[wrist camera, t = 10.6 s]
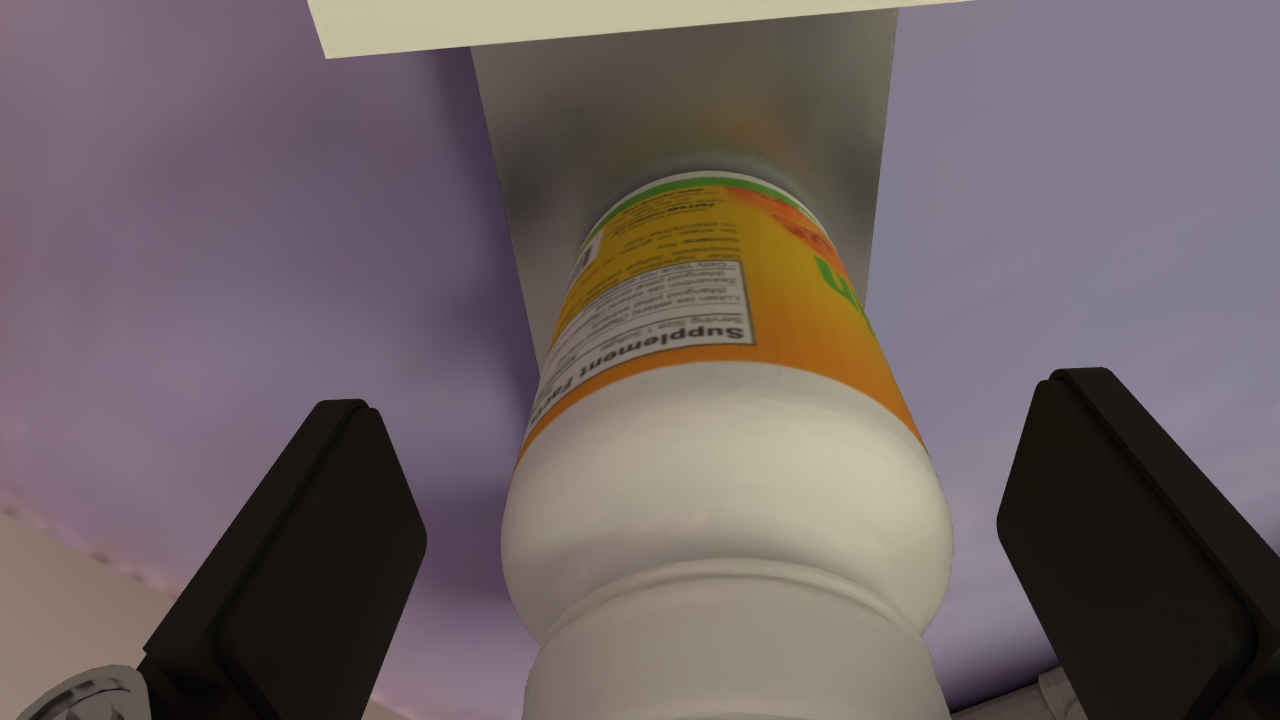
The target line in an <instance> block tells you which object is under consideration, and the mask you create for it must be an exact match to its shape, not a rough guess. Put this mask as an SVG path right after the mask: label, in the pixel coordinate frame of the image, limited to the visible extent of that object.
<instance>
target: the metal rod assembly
mask: <svg viewBox="0 0 1280 720" xmlns="http://www.w3.org/2000/svg"><path fill="white" fill-rule="evenodd" d="M1038 678H1039V683H1036V684H1033V685H1030V686H1028V687H1025V688H1022V689H1019V690H1017V691H1014V692H1011V693H1009V694H1006V695H1003V696H1000V697H998V698H995V699H992V700H989V701H987V702H984V703H981V704H979V705H976V706H973V707H970V708H968V709H965V710H962V711H959V712H957V713H954V714H951V715H950V716H951V719H952V720H1088V718H1087V716H1086V714H1085V712H1084V710H1083V708H1082V706H1081V704H1080V702H1079V700H1078V698H1077V696H1076V694H1075V692H1074V690H1073V688H1072V686H1071V684H1070V682H1069V680H1068V678H1067V676H1066V674H1065V672H1064V670H1063V668H1062V666H1061V665H1060V666H1058V667H1055V668H1053V669H1051V670H1049V671H1047V672H1044V673H1039V676H1038Z"/></svg>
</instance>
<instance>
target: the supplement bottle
mask: <svg viewBox="0 0 1280 720" xmlns="http://www.w3.org/2000/svg"><path fill="white" fill-rule="evenodd" d="M500 548H501V561H502V569H503V574H504V578H505V582H506V586H507V590H508V592H509V595H510V598H511V601H512V603H513V605H514V607H515V609H516V611H517V613H518V615H519V617H520V619H521V621H522V622H523V624H524V625H525V627H526V628H527V629H528V631H529V632H530V634H531V635H532V637H533V638H534V639H535V640H536V642H537V643H538V644H539V645H540V649H539V652H538V656H537V658H536V661H535V663H534V665H533V666H532V668H531V670H530V673H529V676H528V680H527V683H526V687H525V693H524V706H523V716H522V720H952V719H951V716H950V713H949V710H948V707H947V704H946V701H945V699H944V696H943V693H942V690H941V687H940V684H939V681H938V679H937V677H936V674H935V672H934V670H933V667H932V663H931V657H930V653H929V650H928V647H927V645H926V643H925V641H924V639H923V637H922V635H923V634H924V632H925V631H926V629H927V628H928V626H929V625H930V624H931V622H932V621H933V619H934V617H935V615H936V613H937V611H938V610H939V607H940V605H941V603H942V600H943V598H944V595H945V593H946V590H947V587H948V583H949V579H950V574H951V568H952V561H953V529H952V524H951V519H950V513H949V508H948V505H947V502H946V499H945V496H944V493H943V490H942V487H941V485H940V483H939V480H938V476H937V474H936V472H935V470H934V467H933V465H932V462H931V460H930V457H929V455H928V453H927V450H926V448H925V446H924V444H923V441H922V439H921V437H920V435H919V433H918V430H917V428H916V426H915V424H914V422H913V419H912V417H911V415H910V413H909V410H908V408H907V406H906V404H905V402H904V399H903V397H902V395H901V393H900V391H899V388H898V386H897V384H896V382H895V380H894V377H893V375H892V373H891V371H890V369H889V366H888V364H887V361H886V359H885V357H884V354H883V352H882V350H881V347H880V345H879V343H878V341H877V338H876V336H875V334H874V332H873V329H872V327H871V325H870V323H869V321H868V319H867V316H866V314H865V312H864V310H863V308H862V305H861V303H860V301H859V299H858V297H857V295H856V293H855V291H854V289H853V286H852V284H851V282H850V280H849V278H848V276H847V273H846V271H845V269H844V267H843V265H842V262H841V260H840V258H839V256H838V253H837V251H836V249H835V247H834V245H833V243H832V242H831V240H830V238H829V237H828V235H827V233H826V231H825V230H824V228H823V227H822V225H821V224H820V223H819V221H818V220H817V219H816V218H815V216H814V215H813V214H812V213H811V212H810V211H809V210H808V209H807V208H806V207H805V206H804V205H803V204H802V203H801V202H799V201H798V200H796V199H795V198H794V197H792V196H791V195H790V194H788V193H787V192H785V191H784V190H782V189H780V188H778V187H776V186H774V185H772V184H770V183H768V182H766V181H763V180H760V179H758V178H755V177H752V176H748V175H744V174H739V173H732V172H725V171H697V172H688V173H682V174H677V175H672V176H669V177H665V178H662V179H659V180H656V181H654V182H651V183H649V184H646V185H644V186H642V187H640V188H638V189H637V190H635V191H633V192H632V193H630V194H628V195H627V196H625V197H624V198H623V199H621V200H620V201H619V202H618V203H616V204H615V205H614V206H613V207H612V208H611V209H610V210H609V211H608V212H606V213H605V214H604V216H603V217H602V218H601V219H600V220H599V221H598V222H597V223H596V225H595V226H594V227H593V229H592V230H591V232H590V233H589V235H588V236H587V238H586V240H585V241H584V243H583V245H582V247H581V249H580V251H579V253H578V256H577V259H576V261H575V263H574V265H573V269H572V272H571V275H570V278H569V281H568V284H567V288H566V291H565V295H564V299H563V302H562V305H561V309H560V312H559V316H558V319H557V323H556V327H555V330H554V333H553V337H552V340H551V344H550V347H549V351H548V354H547V358H546V361H545V364H544V367H543V370H542V374H541V378H540V382H539V386H538V389H537V393H536V396H535V400H534V403H533V407H532V410H531V413H530V417H529V420H528V424H527V427H526V431H525V434H524V438H523V441H522V445H521V448H520V452H519V455H518V459H517V462H516V465H515V468H514V471H513V475H512V479H511V483H510V487H509V491H508V495H507V501H506V506H505V511H504V515H503V520H502V529H501V547H500Z"/></svg>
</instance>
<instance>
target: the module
mask: <svg viewBox="0 0 1280 720" xmlns="http://www.w3.org/2000/svg"><path fill="white" fill-rule="evenodd" d="M962 1H973V0H307V2H308V5H309V8H310V11H311V14H312V17H313V20H314V23H315V26H316V30H317V33H318V36H319V39H320V42H321V45H322V48H323V51H324V54H325V57H326V59H331V58H342V57H354V56H365V55H376V54H387V53H398V52H409V51H420V50H431V49H442V48H453V47H464V46H475V45H486V44H497V43H508V42H519V41H530V40H541V39H553V38H564V37H575V36H586V35H597V34H608V33H619V32H630V31H641V30H652V29H663V28H674V27H685V26H696V25H707V24H718V23H729V22H741V21H752V20H763V19H774V18H785V17H796V16H807V15H818V14H829V13H840V12H851V11H862V10H873V9H884V8H895V7H906V6H917V5H928V4H940V3H951V2H962Z"/></svg>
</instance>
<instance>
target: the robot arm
mask: <svg viewBox="0 0 1280 720" xmlns="http://www.w3.org/2000/svg"><path fill="white" fill-rule="evenodd" d="M997 532H998V536H999V540H1000V542H1001V544H1002V546H1003V548H1004V550H1005V552H1006V554H1007V556H1008V559H1009V561H1010V563H1011V565H1012V567H1013V569H1014V571H1015V573H1016V575H1017V577H1018V579H1019V581H1020V583H1021V585H1022V587H1023V589H1024V591H1025V593H1026V595H1027V597H1028V599H1029V601H1030V603H1031V605H1032V607H1033V609H1034V611H1035V613H1036V615H1037V617H1038V619H1039V621H1040V623H1041V625H1042V627H1043V629H1044V631H1045V633H1046V635H1047V637H1048V639H1049V641H1050V643H1051V646H1052V648H1053V650H1054V652H1055V654H1056V656H1057V658H1058V660H1059V662H1060V664H1061V666H1062V668H1063V670H1064V672H1065V674H1066V676H1067V678H1068V680H1069V682H1070V684H1071V686H1072V688H1073V690H1074V692H1075V694H1076V696H1077V698H1078V700H1079V702H1080V704H1081V706H1082V708H1083V710H1084V712H1085V714H1086V716H1087V718H1088V720H1280V558H1279V556H1278V555H1277V554H1276V553H1275V552H1274V551H1273V550H1272V549H1271V548H1270V546H1269V545H1268V544H1267V543H1266V542H1265V541H1264V540H1263V539H1262V538H1261V537H1260V535H1259V534H1258V533H1257V532H1256V531H1255V530H1254V529H1253V528H1252V527H1251V525H1250V524H1249V523H1248V522H1247V521H1246V520H1245V519H1244V518H1243V517H1242V515H1241V514H1240V513H1239V512H1238V511H1237V510H1236V509H1235V508H1234V507H1233V506H1232V504H1231V503H1230V502H1229V501H1228V500H1227V499H1226V498H1225V497H1224V496H1223V494H1222V493H1221V492H1220V491H1219V490H1218V489H1217V488H1216V487H1215V486H1214V484H1213V483H1212V482H1211V481H1210V480H1209V479H1208V478H1207V477H1206V476H1205V475H1204V473H1203V472H1202V471H1201V470H1200V469H1199V468H1198V467H1197V466H1196V465H1195V463H1194V462H1193V461H1192V460H1191V459H1190V458H1189V457H1188V456H1187V455H1186V453H1185V452H1184V451H1183V450H1182V449H1181V448H1180V447H1179V446H1178V445H1177V444H1176V442H1175V441H1174V440H1173V439H1172V438H1171V437H1170V436H1169V435H1168V434H1167V432H1166V431H1165V430H1164V429H1163V428H1162V427H1161V426H1160V425H1159V424H1158V422H1157V421H1156V420H1155V419H1154V418H1153V417H1152V416H1151V415H1150V414H1149V413H1148V411H1147V410H1146V409H1145V408H1144V407H1143V406H1142V405H1141V404H1140V403H1139V401H1138V400H1137V399H1136V398H1135V397H1134V396H1133V395H1132V394H1131V393H1130V391H1129V390H1128V389H1127V388H1126V387H1125V386H1124V385H1123V384H1122V383H1121V382H1120V380H1119V379H1118V378H1117V377H1116V376H1115V375H1114V374H1113V373H1112V372H1111V371H1110V370H1108V369H1107V368H1103V367H1092V368H1068V369H1058V370H1055V371H1054V372H1053V373H1052V374H1051V375H1050V377H1049V379H1048V380H1043V381H1040V382H1039V383H1038V384H1037V386H1036V389H1035V392H1034V395H1033V398H1032V402H1031V405H1030V408H1029V411H1028V415H1027V418H1026V421H1025V425H1024V428H1023V431H1022V435H1021V438H1020V441H1019V445H1018V448H1017V451H1016V455H1015V458H1014V461H1013V465H1012V468H1011V471H1010V475H1009V478H1008V481H1007V485H1006V488H1005V491H1004V495H1003V498H1002V501H1001V505H1000V508H999V511H998V515H997ZM426 546H427V534H426V530H425V527H424V524H423V522H422V519H421V517H420V514H419V511H418V509H417V506H416V504H415V501H414V499H413V496H412V494H411V491H410V489H409V486H408V483H407V481H406V478H405V476H404V473H403V471H402V468H401V466H400V463H399V461H398V458H397V455H396V453H395V450H394V448H393V445H392V443H391V440H390V438H389V435H388V433H387V430H386V427H385V425H384V422H383V420H382V417H381V415H380V413H379V411H378V410H377V409H375V408H369V406H368V404H367V403H366V402H365V401H364V400H362V399H340V400H323V401H321V402H319V403H318V404H317V405H316V406H315V407H314V408H313V410H312V411H311V413H310V414H309V415H308V417H307V418H306V420H305V421H304V422H303V424H302V425H301V427H300V428H299V429H298V431H297V432H296V434H295V435H294V436H293V438H292V439H291V441H290V442H289V443H288V445H287V446H286V448H285V449H284V450H283V452H282V453H281V455H280V456H279V457H278V459H277V460H276V462H275V463H274V464H273V466H272V467H271V469H270V470H269V472H268V473H267V474H266V476H265V477H264V479H263V480H262V481H261V483H260V484H259V486H258V487H257V488H256V490H255V491H254V493H253V494H252V495H251V497H250V498H249V500H248V501H247V502H246V504H245V505H244V507H243V508H242V509H241V511H240V512H239V514H238V515H237V516H236V518H235V519H234V521H233V522H232V524H231V525H230V526H229V528H228V529H227V531H226V532H225V533H224V535H223V536H222V538H221V539H220V540H219V542H218V543H217V545H216V546H215V547H214V549H213V550H212V552H211V553H210V554H209V556H208V557H207V559H206V560H205V561H204V563H203V564H202V566H201V567H200V568H199V570H198V571H197V573H196V574H195V576H194V577H193V578H192V580H191V581H190V583H189V584H188V585H187V587H186V588H185V590H184V591H183V592H182V594H181V595H180V597H179V598H178V599H177V601H176V602H175V604H174V605H173V606H172V608H171V609H170V611H169V612H168V613H167V615H166V616H165V618H164V619H163V621H162V622H161V623H160V625H159V626H158V627H157V629H156V630H155V632H154V633H153V635H152V636H151V637H150V639H149V640H148V642H147V643H146V644H145V646H144V647H143V650H144V651H145V652H146V653H147V655H146V656H145V658H144V659H143V660H142V662H141V663H140V665H139V666H138V667H137V669H136V670H135V669H133V668H132V667H130V666H123V665H108V666H103V667H98V668H93V669H90V670H88V671H85V672H83V673H81V674H78V675H76V676H73V677H71V678H69V679H67V680H65V681H64V682H62V683H61V684H59V685H57V686H56V687H54V688H52V689H51V690H50V691H48V692H46V693H44V694H43V695H42V696H41V697H40V698H39V699H38V700H36V701H35V702H34V703H33V704H31V705H30V706H29V707H28V708H27V709H25V710H24V711H23V712H22V713H21V714H20V715H19V717H18V718H17V719H16V720H361V718H362V716H363V713H364V710H365V708H366V705H367V703H368V700H369V698H370V695H371V692H372V690H373V687H374V685H375V682H376V679H377V677H378V674H379V672H380V669H381V666H382V664H383V661H384V659H385V656H386V653H387V651H388V648H389V646H390V643H391V641H392V638H393V635H394V633H395V630H396V628H397V625H398V622H399V620H400V617H401V615H402V612H403V609H404V607H405V604H406V602H407V599H408V596H409V594H410V591H411V589H412V586H413V584H414V581H415V578H416V576H417V573H418V571H419V568H420V565H421V563H422V560H423V558H424V555H425V552H426Z"/></svg>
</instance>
